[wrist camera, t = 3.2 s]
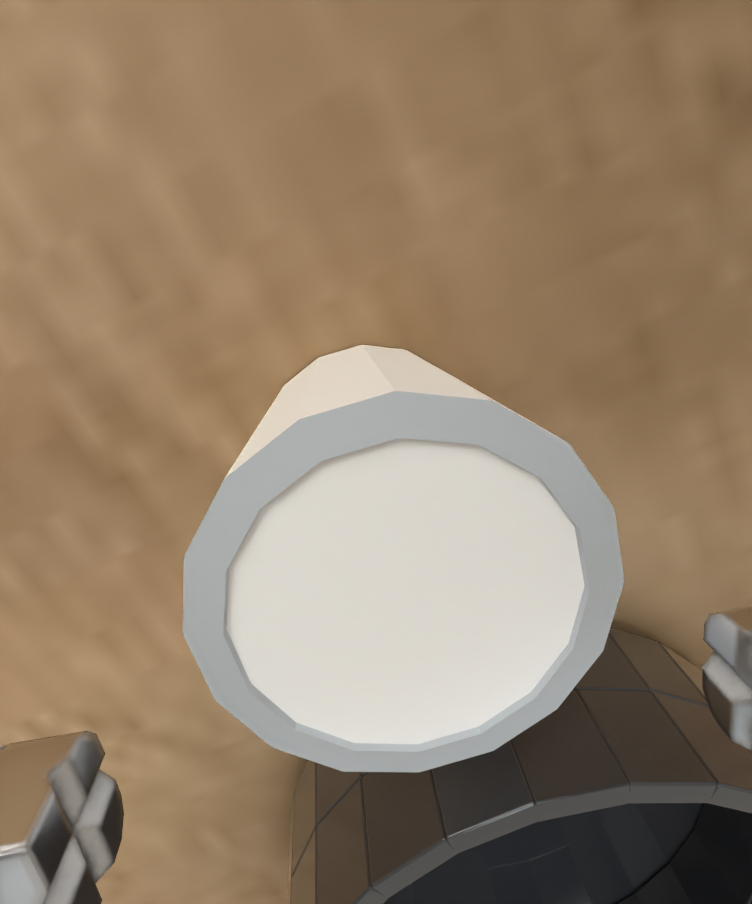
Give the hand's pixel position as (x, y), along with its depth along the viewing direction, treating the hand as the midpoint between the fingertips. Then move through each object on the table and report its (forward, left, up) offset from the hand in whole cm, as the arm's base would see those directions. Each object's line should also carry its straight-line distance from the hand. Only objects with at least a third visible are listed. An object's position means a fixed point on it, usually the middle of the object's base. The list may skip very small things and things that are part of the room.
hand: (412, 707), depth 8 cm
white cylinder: (-1, 0, -9) cm, 9 cm away
